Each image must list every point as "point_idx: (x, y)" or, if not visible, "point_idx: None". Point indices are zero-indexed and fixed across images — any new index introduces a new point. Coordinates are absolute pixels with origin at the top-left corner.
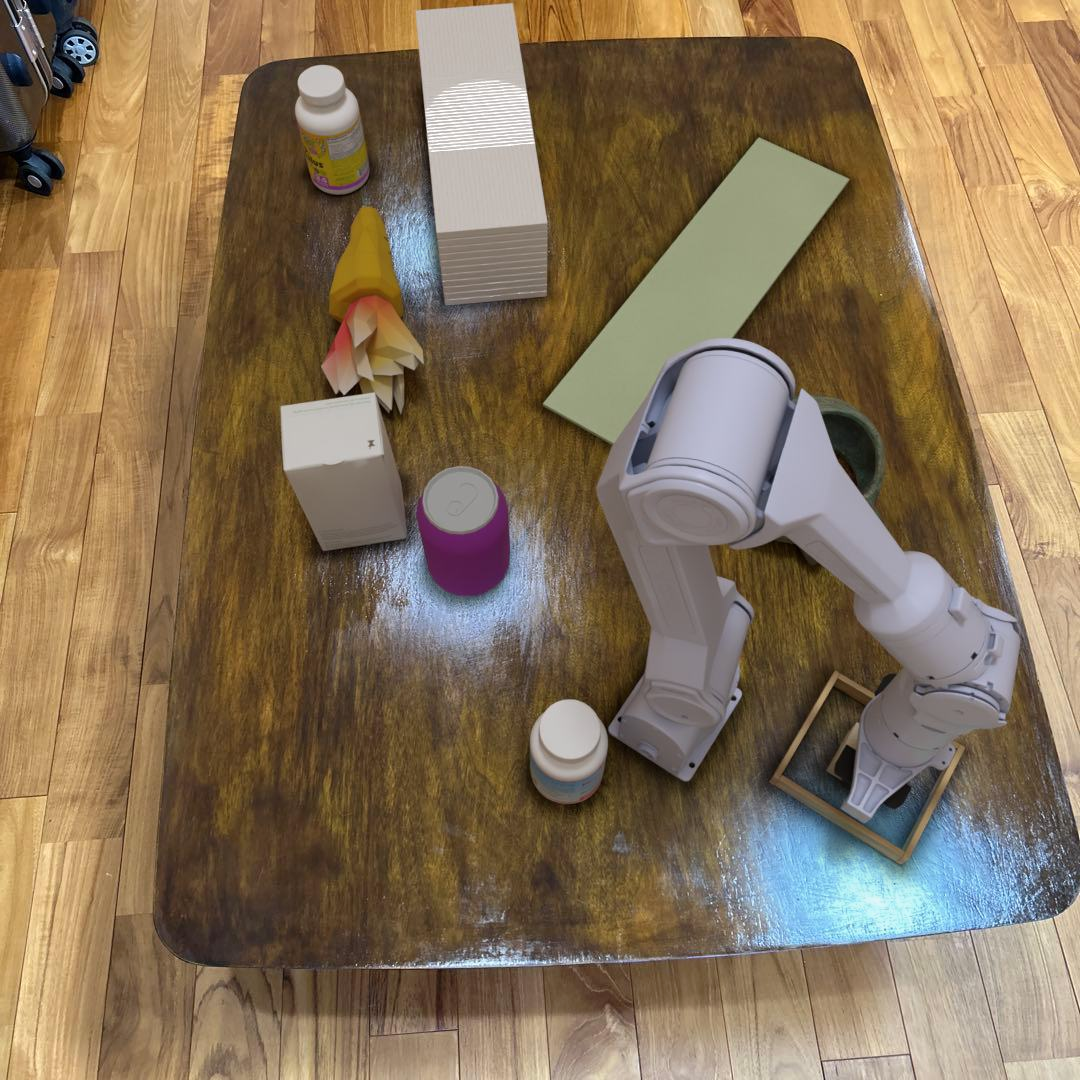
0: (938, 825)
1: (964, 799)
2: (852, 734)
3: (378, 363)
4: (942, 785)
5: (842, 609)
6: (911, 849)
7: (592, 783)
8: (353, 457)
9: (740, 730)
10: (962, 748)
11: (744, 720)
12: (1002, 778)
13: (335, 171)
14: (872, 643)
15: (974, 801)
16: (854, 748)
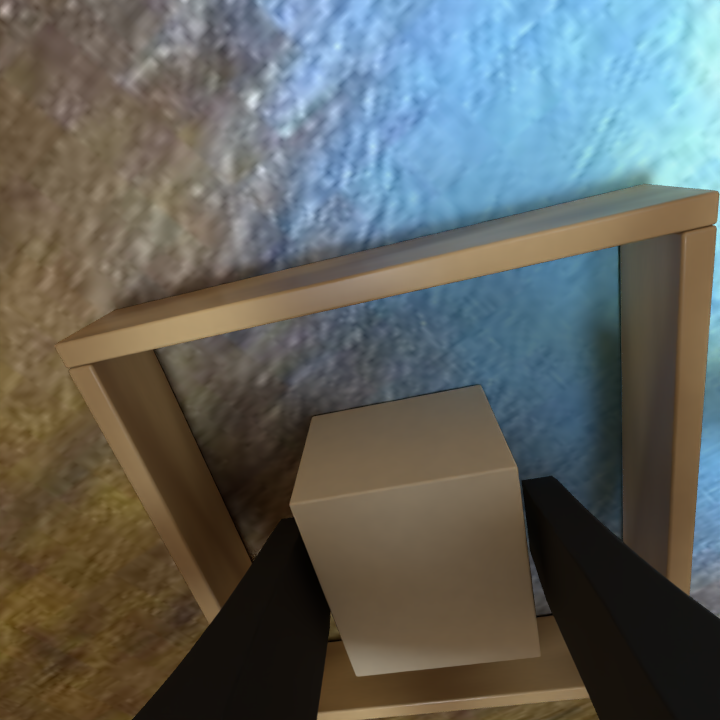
0: (387, 178)
1: (215, 172)
2: (406, 665)
3: None
4: (269, 310)
5: (127, 711)
6: (650, 216)
7: None
8: None
9: (558, 705)
10: (69, 350)
11: (529, 711)
12: (7, 110)
13: None
14: (118, 640)
15: (185, 133)
16: (447, 643)
